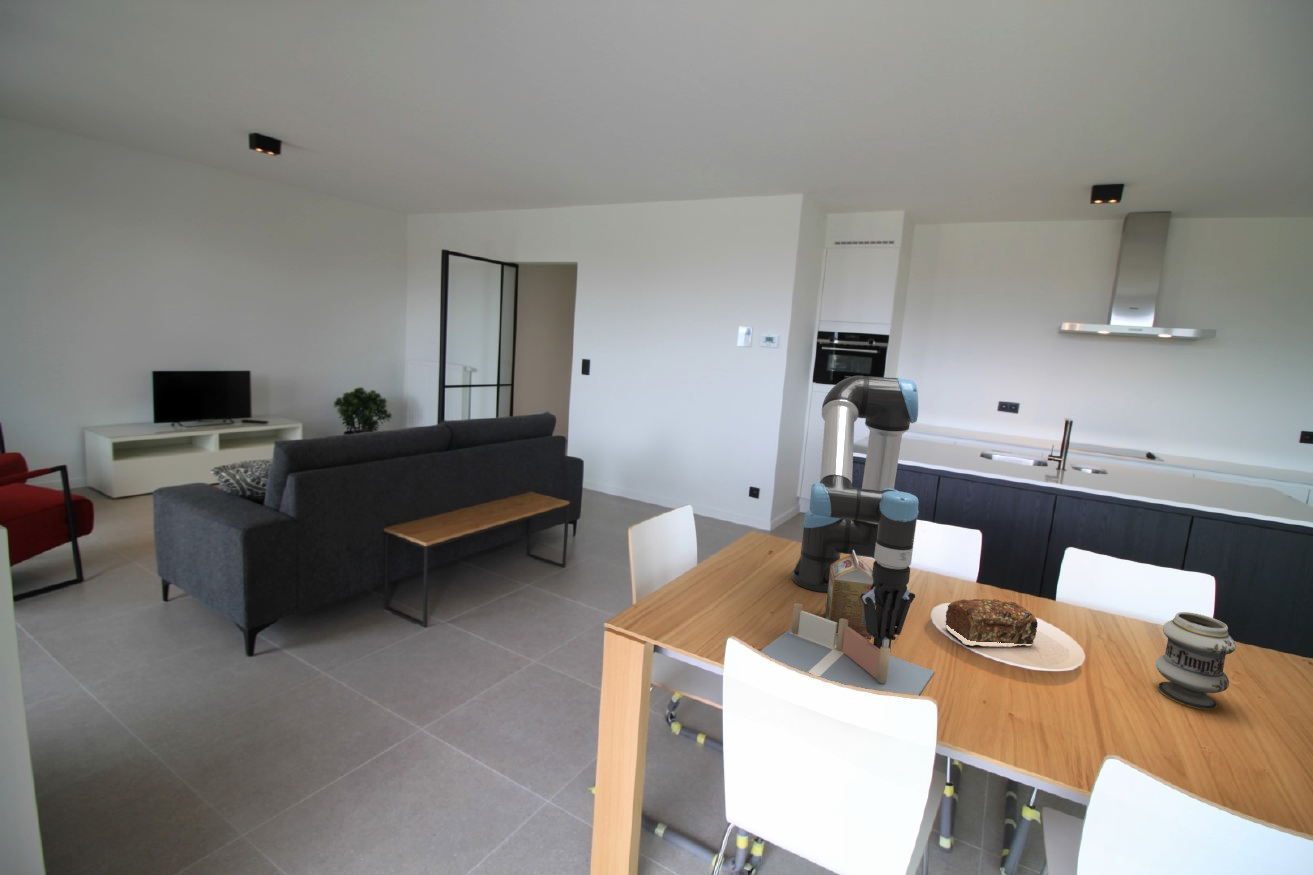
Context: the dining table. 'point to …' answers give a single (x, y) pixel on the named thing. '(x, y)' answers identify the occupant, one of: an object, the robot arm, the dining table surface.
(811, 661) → the board
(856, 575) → the milk carton
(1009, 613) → the bread
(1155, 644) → the dining table surface
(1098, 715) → the dining table surface
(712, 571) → the dining table surface
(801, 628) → the fence fixed
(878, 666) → the fence panel
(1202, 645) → the apothecary jar
